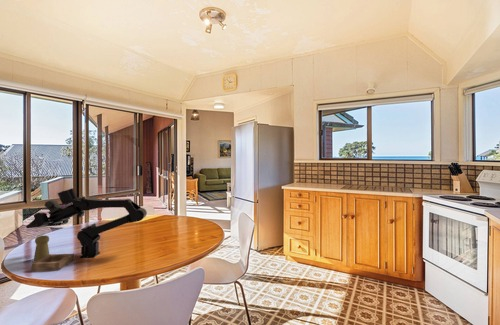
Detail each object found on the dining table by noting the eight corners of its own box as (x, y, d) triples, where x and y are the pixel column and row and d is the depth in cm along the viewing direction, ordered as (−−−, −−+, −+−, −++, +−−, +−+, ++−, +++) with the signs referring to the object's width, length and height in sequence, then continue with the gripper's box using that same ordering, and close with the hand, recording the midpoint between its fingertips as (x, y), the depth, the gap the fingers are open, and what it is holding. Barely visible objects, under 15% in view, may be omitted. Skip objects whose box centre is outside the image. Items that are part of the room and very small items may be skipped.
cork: (48, 256, 121) (48, 233, 121) (51, 259, 117) (51, 235, 117) (32, 259, 116) (32, 236, 116) (34, 262, 112) (35, 238, 112)
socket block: (74, 259, 116) (74, 253, 116) (59, 269, 105) (59, 262, 105) (48, 260, 115) (48, 254, 115) (31, 271, 104) (31, 264, 104)
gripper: (73, 198, 131) (43, 210, 128) (48, 196, 113) (12, 211, 110) (80, 217, 129) (49, 230, 127) (56, 218, 111) (20, 234, 108)
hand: (34, 226), depth 118 cm, fingers open, 9 cm apart
